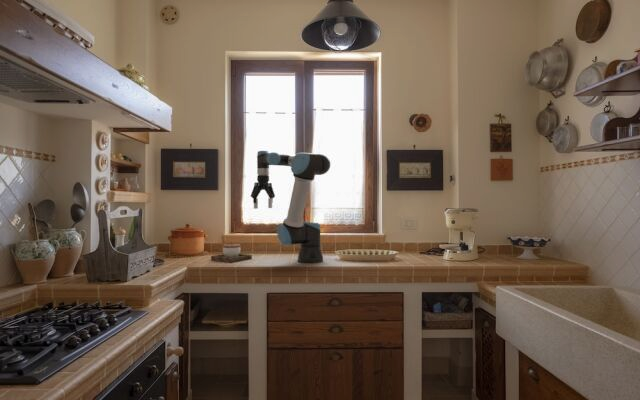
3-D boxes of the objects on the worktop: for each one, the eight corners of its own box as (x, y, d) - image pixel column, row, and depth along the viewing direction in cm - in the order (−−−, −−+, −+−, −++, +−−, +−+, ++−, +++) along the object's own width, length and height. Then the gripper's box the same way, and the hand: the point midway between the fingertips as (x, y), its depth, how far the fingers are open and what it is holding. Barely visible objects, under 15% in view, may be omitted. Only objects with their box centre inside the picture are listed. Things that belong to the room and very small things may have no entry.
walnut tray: (251, 259, 240) (251, 254, 240) (230, 262, 226) (230, 258, 226) (232, 256, 249) (232, 252, 249) (211, 260, 235) (211, 256, 235)
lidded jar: (230, 259, 230) (230, 243, 230) (218, 257, 236) (218, 242, 236) (244, 257, 238) (244, 241, 238) (232, 255, 245) (232, 240, 245)
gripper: (271, 176, 264) (271, 207, 264) (245, 174, 243) (245, 208, 243) (280, 175, 260) (280, 207, 260) (253, 174, 239) (253, 208, 239)
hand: (263, 208), depth 252 cm, fingers open, 13 cm apart
